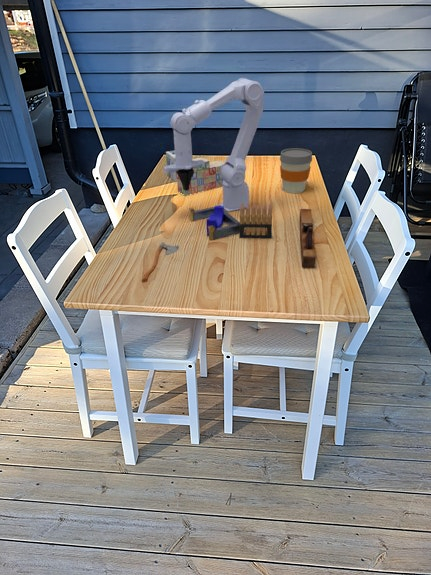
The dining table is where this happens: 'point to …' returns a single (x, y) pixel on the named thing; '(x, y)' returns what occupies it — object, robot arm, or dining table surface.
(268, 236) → the ammunition clip
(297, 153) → the reusable coffee cup
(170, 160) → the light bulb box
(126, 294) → the dining table surface
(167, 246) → the axe
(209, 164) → the stack of blocks
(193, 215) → the keeper cradle
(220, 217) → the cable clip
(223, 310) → the dining table surface
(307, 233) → the hand plane
